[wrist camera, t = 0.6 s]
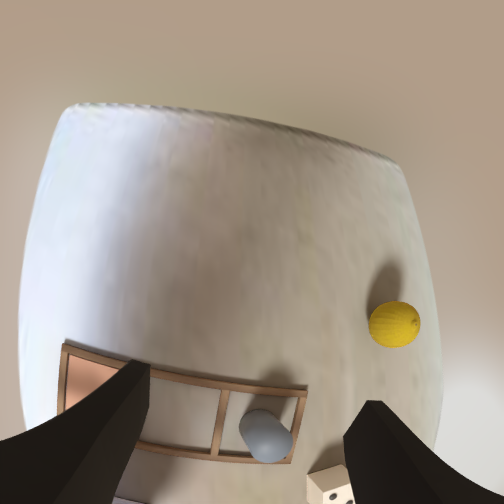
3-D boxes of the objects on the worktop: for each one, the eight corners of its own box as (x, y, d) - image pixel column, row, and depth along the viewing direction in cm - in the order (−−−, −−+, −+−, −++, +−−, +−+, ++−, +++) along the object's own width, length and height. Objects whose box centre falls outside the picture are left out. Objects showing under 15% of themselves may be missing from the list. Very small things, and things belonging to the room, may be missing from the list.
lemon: (391, 303, 36) (433, 300, 29) (388, 344, 35) (430, 349, 28) (358, 300, 35) (399, 297, 28) (354, 345, 34) (395, 351, 27)
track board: (288, 461, 30) (290, 463, 29) (58, 422, 24) (56, 423, 24) (306, 389, 32) (308, 391, 31) (64, 343, 27) (61, 343, 26)
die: (339, 489, 30) (357, 506, 25) (306, 500, 29) (322, 519, 24) (341, 464, 31) (360, 479, 26) (306, 474, 30) (323, 493, 25)
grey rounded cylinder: (272, 442, 30) (288, 463, 25) (235, 440, 29) (246, 462, 24) (279, 410, 31) (297, 427, 25) (242, 407, 30) (254, 425, 25)
